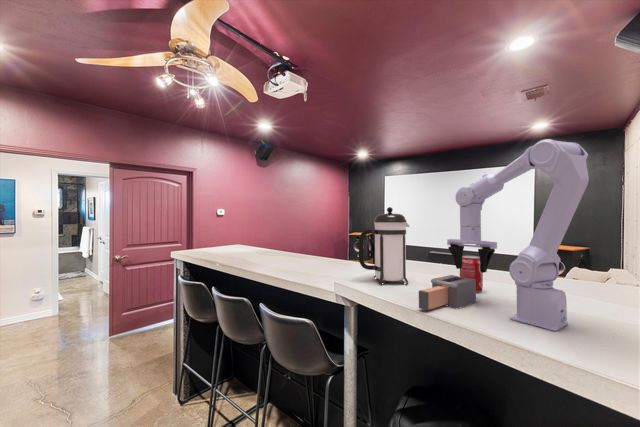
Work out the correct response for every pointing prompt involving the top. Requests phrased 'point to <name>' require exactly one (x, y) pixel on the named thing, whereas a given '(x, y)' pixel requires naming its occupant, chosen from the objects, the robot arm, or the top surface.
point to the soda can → (472, 270)
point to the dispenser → (458, 290)
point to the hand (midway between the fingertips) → (470, 270)
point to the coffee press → (388, 247)
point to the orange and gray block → (433, 297)
